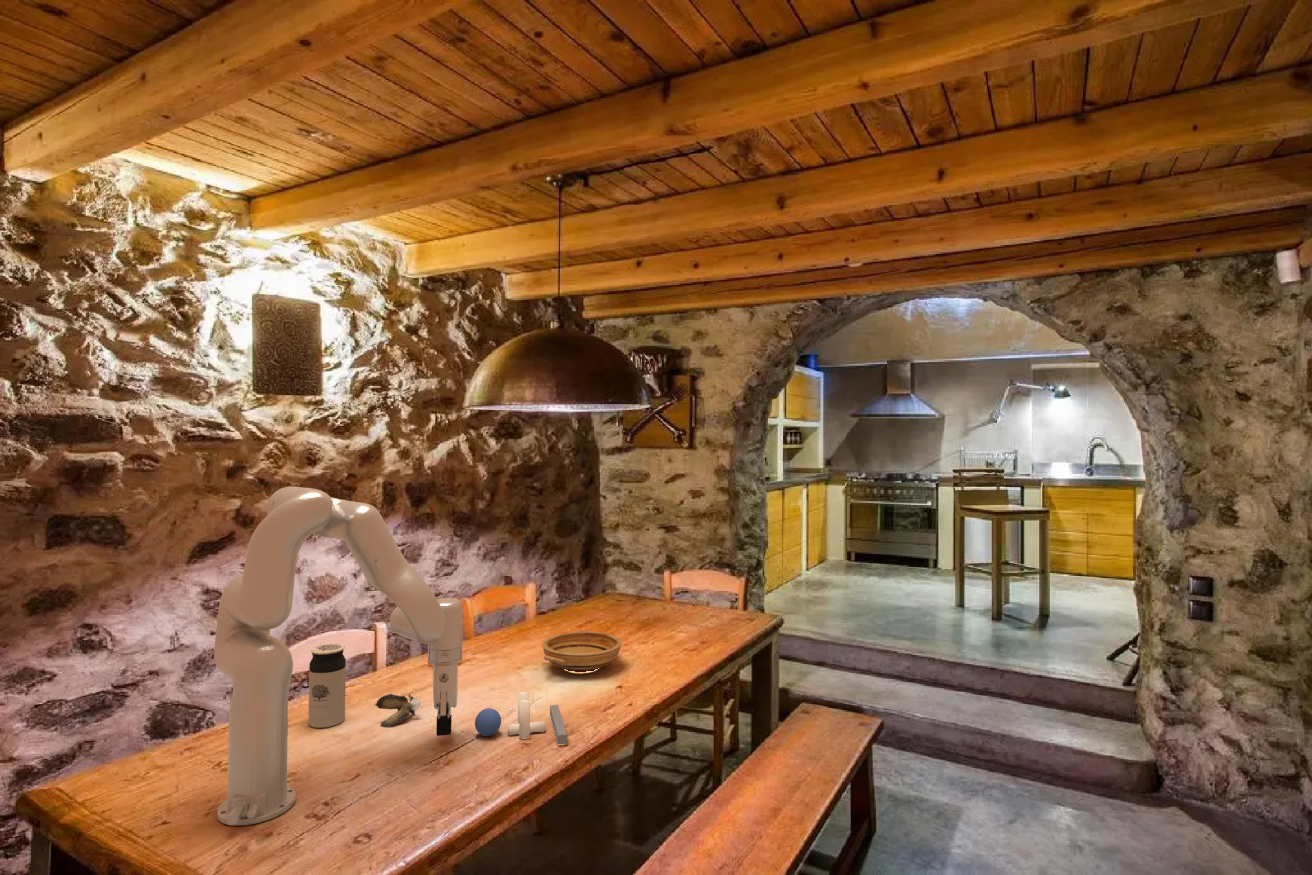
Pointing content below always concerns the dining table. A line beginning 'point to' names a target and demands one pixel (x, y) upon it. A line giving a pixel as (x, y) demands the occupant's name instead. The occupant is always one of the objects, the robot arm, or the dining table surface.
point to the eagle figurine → (397, 707)
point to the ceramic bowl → (581, 650)
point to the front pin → (534, 727)
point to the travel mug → (327, 686)
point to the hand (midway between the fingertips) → (443, 733)
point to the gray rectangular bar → (558, 724)
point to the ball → (488, 722)
